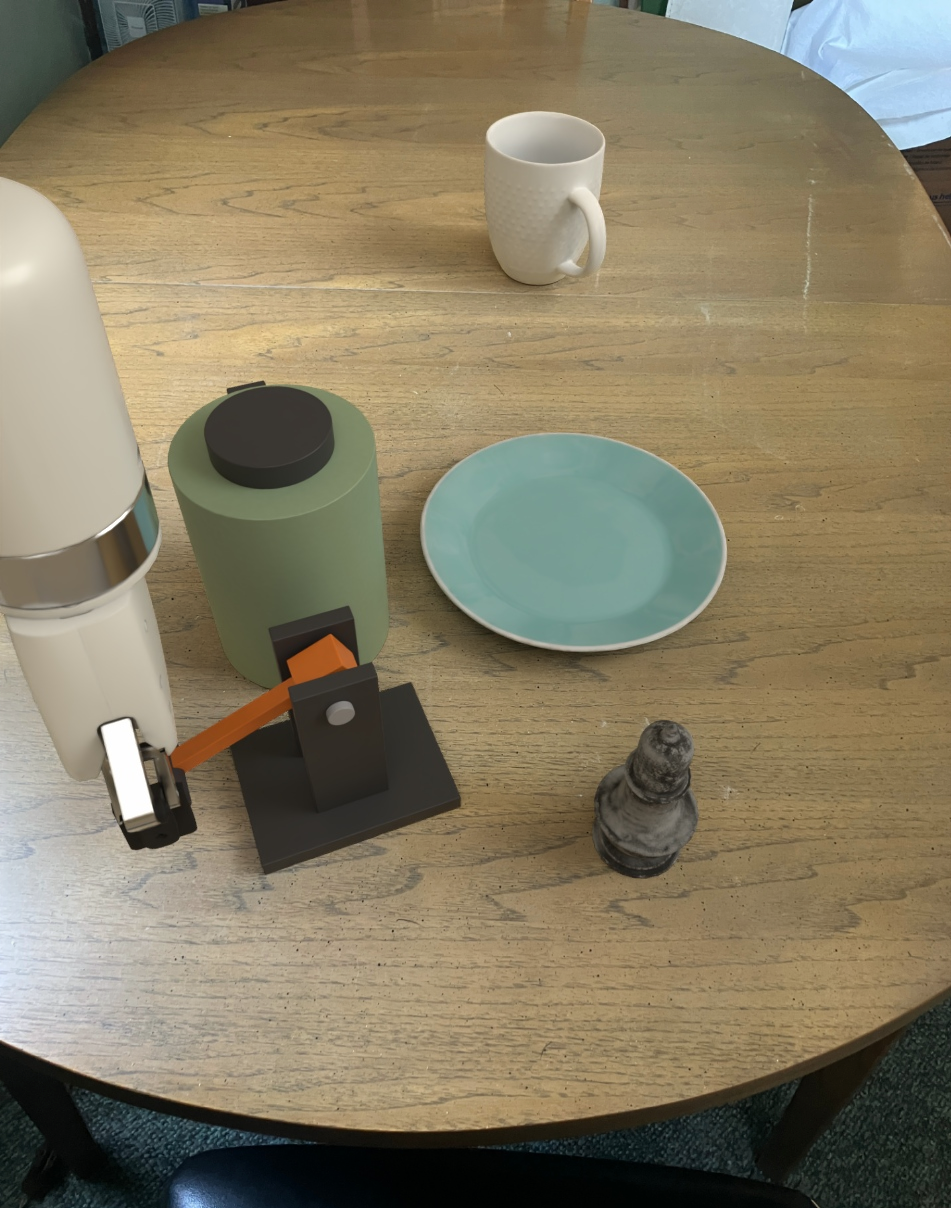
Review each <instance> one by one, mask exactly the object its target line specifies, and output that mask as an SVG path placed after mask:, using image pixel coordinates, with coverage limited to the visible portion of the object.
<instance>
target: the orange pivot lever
mask: <svg viewBox="0 0 951 1208" xmlns="http://www.w3.org/2000/svg"><path fill="white" fill-rule="evenodd" d="M287 664H288V667H289V670H290V673H291V676H292V677H291V678H289V679H287V680H286V681H284V682H283V683H281V684H279V685H278V686H276V687H274V688H273V689H269V690H268V691H266V692H265V693H263V694H262V695H260V696H258V697H257V698H255V699H253V700H251V701H249V702H248V703H247V704H245V705H243V706H242V707H240V708H239V709H237V710H235V711H233V712H232V713H230V714H229V715H227V716H226V717H224V718H222V719H220V720H219V721H218V722H216V723H213V724H212V725H210V726H208V728H206V729H204V730H203V731H201V732H199V733H197V734H196V735H194V736H193V737H191V738H190V739H188V740H186V741H185V742H183V743H181V744H179V743H178V744H177V746H176V748H175V749H174V751H173V752H172V753H171V755H170V756H168V758H169V762H170V765H171V769H172V772H173V776H174V779H175V782H182V783H183V786H184V789H185V792H186V794H187V797H188V800H189V802H190V805H191V806H193V805H192V804H193V802H192V796H191V794H190V787H189V784H188V779H187V775H186V773H188V772H190V771H191V770H193V769H194V768H196V767H198V766H199V765H201V764H203V763H204V762H206V761H208V760H209V759H211V758H213V757H214V756H216V755H218V754H219V753H220V752H222V751H224V750H226V749H227V748H230V747H229V746H231V745H232V744H234V743H236V742H237V741H239V740H241V739H242V738H244V737H245V736H247V735H249V734H250V733H252V732H254V731H255V730H257V729H260V728H263V727H265V725H267V724H268V723H270V722H272V721H273V720H275V719H277V718H278V717H280V716H282V715H284V714H285V713H288V710H290V709H291V708H292V705H291V701H290V697H289V692H288V687H290V686H293V685H296V684H300V683H303V682H306V681H310V680H313V679H316V678H320V677H323V676H326V675H330V674H333V673H336V672H340V671H343V670H346V669H350V668H353V667H356V666H357V664H356V661H355V659H354V656H353V653H352V652H351V651H350V650H348V649H347V648H346V647H345V646H344V645H343V644H342V643H341V642H339V641H338V640H337V639H336V638H335V637H334V636H333V635H332V634H329V635H327V636H326V637H324V638H322V639H321V640H319V641H318V642H316V643H314V644H313V645H311V646H309V647H308V648H306V649H305V650H303V651H301V652H300V653H298V654H296V655H295V656H293V657H292V658H290V659H288V660H287ZM152 761H153V766H154V767H153V768H154V771H155V777H156V780H157V781H156V782H160V781H161V780H160V777H159V773H158V770H157V766H156V763H155V759H152Z"/></svg>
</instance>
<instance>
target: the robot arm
mask: <svg viewBox="0 0 951 1208" xmlns="http://www.w3.org/2000/svg"><path fill="white" fill-rule="evenodd" d="M136 436H137V435H136V434H135V430H134V426H133V424H132V420H131V416H130V413H129V409H128V405H127V402H126V398H125V395H124V389H123V387H122V383H121V380H120V377H119V372H118V369H117V366H116V362H115V359H114V355H113V351H112V348H111V343H110V341H109V337H108V333H107V330H106V326H105V323H104V320H103V317H102V313H101V309H100V306H99V302H98V298H97V295H96V291H95V289H94V285H93V281H92V278H91V273H90V270H89V267H88V264H87V261H86V257H85V255H84V252H83V250H82V247H81V243H80V240H79V237H78V234H77V233H76V231H75V230H74V228H73V225H72V224H71V222H70V221H69V219H68V218H67V217H66V216H65V214H64V213H63V212H62V211H61V209H59V208H58V207H57V205H56V204H55V203H54V202H52V200H51V199H49V198H47V197H46V196H45V195H44V194H43V193H41V192H39V191H38V190H36V189H34V188H33V187H31V186H28V185H26V184H23V183H21V182H18V181H15V180H12V179H10V178H8V177H3V176H0V614H1V615H3V617H4V620H5V625H6V627H7V630H8V633H9V634H8V635H9V637H10V640H11V642H12V647H13V648H14V651H15V652H14V653H15V655H16V659H17V660H18V663H19V666H20V669H21V671H22V674H23V677H24V679H25V682H26V684H27V687H28V689H29V691H30V694H31V696H32V699H33V701H34V703H35V705H36V708H37V711H38V712H39V715H40V717H41V720H42V721H43V724H44V726H45V728H46V731H47V732H48V735H49V737H50V740H51V742H52V744H53V746H54V748H55V751H56V753H57V755H58V757H59V759H60V762H61V764H62V766H63V768H64V771H65V773H66V774H67V776H68V777H70V778H71V779H72V780H74V781H76V782H78V783H81V782H85V781H90V780H95V779H98V778H99V777H100V774H102V776H103V780H104V782H105V786H106V790H107V793H108V797H109V800H110V807H111V813H112V815H113V817H114V819H115V821H116V823H117V825H118V827H119V830H120V831H121V833H122V835H123V837H124V839H125V841H126V843H127V845H128V847H129V848H130V850H132V851H140V850H144V849H149V850H158V849H162V848H164V847H167V846H168V847H169V846H171V845H174V844H175V843H177V842H178V841H179V840H180V838H182V837H185V836H188V835H190V834H194V833H196V832H197V830H198V823H197V819H196V816H195V814H194V811H193V808H192V805H190V802H189V800H188V797H187V794H186V792H185V789H184V786H183V783H182V782H175V779H174V776H173V772H172V769H171V765H170V762H169V758H168V756H170V755H171V753H172V752H173V751H174V749H175V748H176V746H177V744H179V737H178V732H177V726H176V718H175V711H174V706H173V699H172V693H171V688H170V682H169V675H168V671H167V664H166V660H165V659H166V658H165V655H164V648H163V645H162V639H161V634H160V629H159V626H158V621H157V616H156V612H155V609H154V606H153V603H152V598H151V594H150V591H149V587H148V584H147V581H146V577H145V576H146V575H147V573H149V571H150V569H151V568H152V566H153V565H154V563H155V562H156V561H157V558H158V556H159V554H160V551H161V547H162V543H163V529H162V523H161V521H160V517H159V514H158V511H157V507H156V503H155V500H154V496H153V492H152V490H151V489H152V488H151V486H150V482H149V479H148V474H147V472H146V468H145V464H144V462H143V459H142V455H141V450H140V447H139V444H138V440H137V437H136ZM138 729H139V732H140V735H141V738H142V741H143V742H140V741H139V740H140V739H139V737H138V733H137V730H138ZM153 759H155V763H156V766H157V770H158V773H159V777H160V780H161V781H160V782H158V781H156V782H154V783H150V781H149V780H150V779H149V777H148V772H147V768H146V765H145V762H147V761H151V760H152V761H153Z"/></svg>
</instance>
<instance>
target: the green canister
mask: <svg viewBox="0 0 951 1208" xmlns="http://www.w3.org/2000/svg"><path fill="white" fill-rule="evenodd" d="M376 443H377V442H376V437H375V432H374V429H373V427H372V425H371V423H370V422H369V420H368V419H367V417H366V416H365V414H364V413H363V412H362V411H361V410H360V409H359V408H358V407H356V405H355V404H353V403H352V402H350V401H349V400H348V399H346V398H344V397H342V396H339V394H335V392H334V393H333V392H330V391H327V390H325V389H321V388H318V387H313V386H308V385H301V384H290V383H285V384H281V383H280V384H278V383H277V384H266V381H265V380H258V381H254V382H249V383H245V384H240V385H235V386H230V387H227V388H226V394H224V395H223V396H222V395H221V396H220V397H218V398H216V399H213V400H212V401H210V402H208V403H206V404H205V405H203V406H202V407H200V408H199V409H197V410H196V411H195V412H194V413H192V414H190V416H189V417H188V418H186V419H185V420H184V422H183V423H182V424H181V425H180V427H179V428H178V429H177V431H176V432H175V434H174V436H173V438H172V439H171V442H170V444H169V449H168V452H167V468H168V474H169V476H170V480H171V484H172V487H173V490H174V493H175V496H176V499H177V503H178V506H179V509H180V512H181V516H182V519H183V522H184V526H185V529H186V532H187V536H188V539H189V542H190V545H191V549H192V553H193V555H194V556H193V557H194V559H195V562H196V565H197V569H198V571H199V576H200V578H201V582H202V584H203V589H204V591H205V595H206V598H207V601H208V605H209V607H210V611H211V615H212V618H213V621H214V625H215V628H216V630H217V631H216V632H217V634H218V637H219V640H220V644H221V647H222V650H223V653H224V655H225V657H226V659H227V660H228V662H229V664H231V666H232V667H233V668H234V669H235V670H236V671H237V672H238V673H239V674H240V675H241V676H242V677H244V678H245V679H247V680H248V681H249V682H251V683H254V684H256V685H258V686H260V687H262V688H265V689H269V690H271V689H273V688H274V687H276V686H278V685H279V684H281V681H280V677H279V672H278V668H277V664H276V660H275V656H274V651H273V647H272V643H271V639H270V635H269V631H268V629H269V628H270V627H274V626H277V625H281V624H284V623H288V622H291V621H295V620H298V619H302V618H305V617H309V616H313V615H316V614H320V613H323V612H327V611H330V610H334V609H337V608H341V607H344V606H350V609H351V611H352V614H353V616H354V620H355V628H356V636H357V644H358V652H359V660H360V665H363V664H366V663H370V662H372V663H373V661H374V660H375V659H376V658H377V656H378V655H379V653H381V650H382V648H383V647H384V645H385V643H386V640H387V637H388V635H389V629H390V608H389V606H390V605H389V596H388V594H389V593H388V583H387V582H388V581H387V570H386V558H385V545H384V532H383V519H382V518H383V517H382V508H381V494H380V481H379V471H378V470H379V469H378V458H377V457H378V456H377V444H376Z"/></svg>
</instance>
